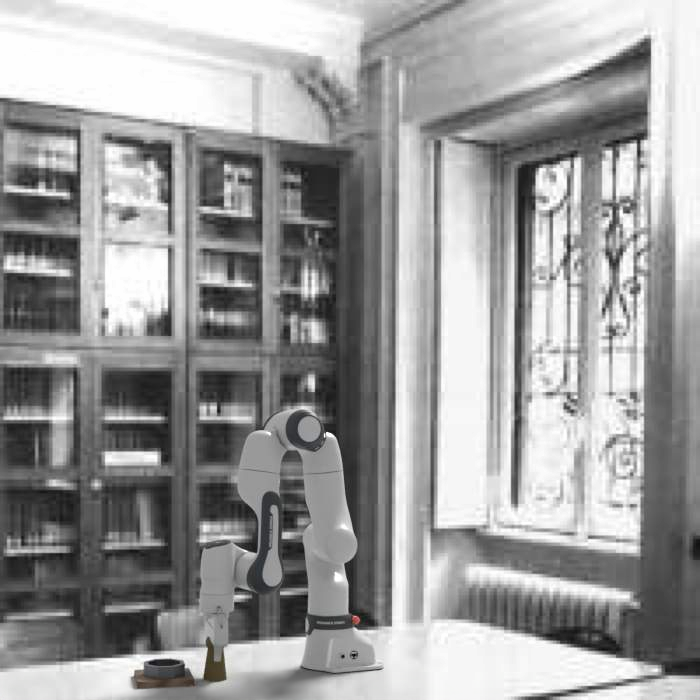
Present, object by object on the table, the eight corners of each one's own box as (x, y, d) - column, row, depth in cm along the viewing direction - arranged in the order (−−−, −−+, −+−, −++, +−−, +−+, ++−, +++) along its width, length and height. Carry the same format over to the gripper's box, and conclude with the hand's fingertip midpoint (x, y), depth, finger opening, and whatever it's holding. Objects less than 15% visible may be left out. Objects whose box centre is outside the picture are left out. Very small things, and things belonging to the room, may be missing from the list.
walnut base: (188, 673, 286) (188, 667, 286) (194, 685, 272) (194, 679, 272) (134, 675, 282) (134, 669, 283) (137, 688, 269) (137, 682, 269)
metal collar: (181, 669, 284) (182, 658, 284) (185, 678, 274) (186, 666, 274) (142, 671, 281) (142, 659, 281) (145, 679, 271) (145, 667, 272)
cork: (222, 682, 277) (223, 638, 278) (199, 680, 278) (200, 636, 279) (229, 677, 283) (230, 633, 284) (207, 675, 284) (208, 632, 285)
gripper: (234, 610, 273) (233, 666, 272) (223, 597, 293) (222, 650, 292) (209, 610, 271) (208, 667, 270) (200, 598, 291) (198, 651, 290)
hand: (215, 658), depth 281 cm, fingers open, 5 cm apart
